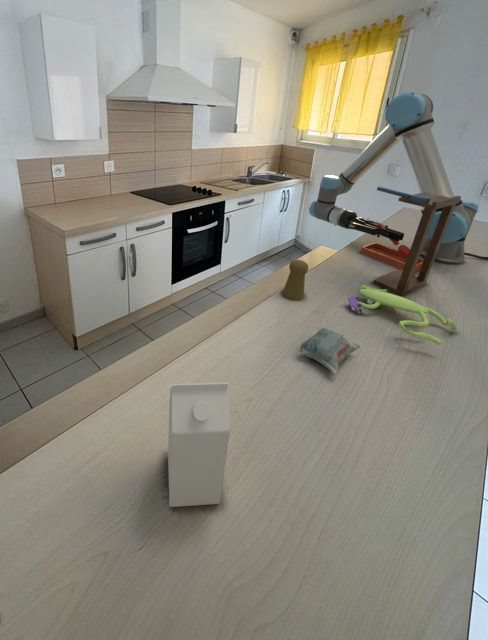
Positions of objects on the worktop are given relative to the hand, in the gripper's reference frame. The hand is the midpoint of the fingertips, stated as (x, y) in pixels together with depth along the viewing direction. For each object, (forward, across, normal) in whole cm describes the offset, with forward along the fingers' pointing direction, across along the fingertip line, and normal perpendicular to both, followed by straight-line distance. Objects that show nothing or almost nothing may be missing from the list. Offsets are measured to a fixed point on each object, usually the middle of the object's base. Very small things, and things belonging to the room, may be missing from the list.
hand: (401, 237), depth 119 cm
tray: (-1, 0, -10) cm, 10 cm away
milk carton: (+25, +108, -10) cm, 111 cm away
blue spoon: (+5, +22, +19) cm, 30 cm away
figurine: (+20, +38, -10) cm, 44 cm away
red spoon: (-3, 0, -2) cm, 3 cm away
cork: (-2, +54, -10) cm, 55 cm away
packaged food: (+20, +68, -10) cm, 71 cm away
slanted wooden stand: (+11, +17, -10) cm, 22 cm away
